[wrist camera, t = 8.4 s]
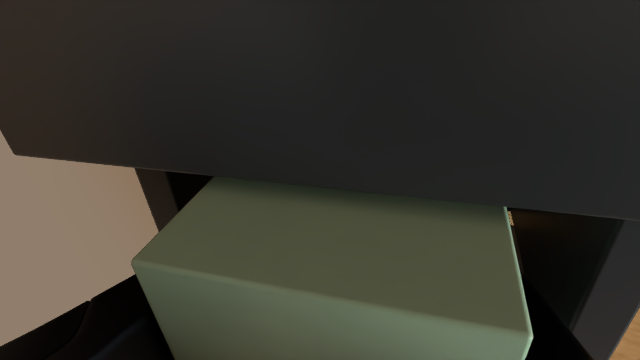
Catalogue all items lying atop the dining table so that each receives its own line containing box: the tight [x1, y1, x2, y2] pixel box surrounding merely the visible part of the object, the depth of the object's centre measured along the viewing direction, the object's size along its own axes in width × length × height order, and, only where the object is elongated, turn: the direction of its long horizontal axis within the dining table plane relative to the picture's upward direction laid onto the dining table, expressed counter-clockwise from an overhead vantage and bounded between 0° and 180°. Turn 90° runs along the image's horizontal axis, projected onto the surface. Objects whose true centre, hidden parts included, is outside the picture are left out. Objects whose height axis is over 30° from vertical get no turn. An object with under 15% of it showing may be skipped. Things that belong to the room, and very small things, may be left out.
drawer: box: [135, 168, 640, 360], centre depth 10 cm, size 17×10×7 cm, turn 4°
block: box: [131, 176, 533, 360], centre depth 7 cm, size 4×4×4 cm
